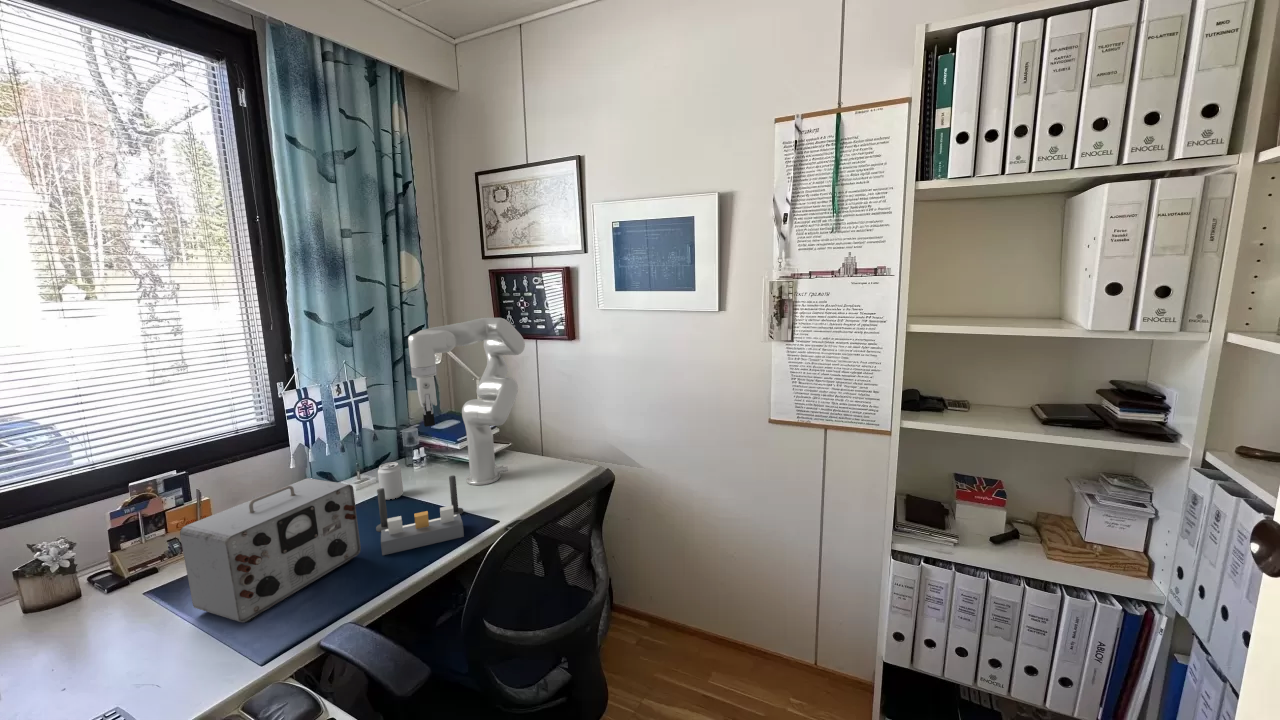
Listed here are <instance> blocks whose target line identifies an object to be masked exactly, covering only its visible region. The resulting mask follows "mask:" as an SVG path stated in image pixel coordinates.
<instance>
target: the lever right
mask: <svg viewBox="0 0 1280 720" xmlns="http://www.w3.org/2000/svg"><path fill="white" fill-rule="evenodd" d="M439 513H440V515H439V516H440V518H441V523H446V522H451V521H454V510H453V505H452V504H451V505H448V506H443V507H439Z"/></svg>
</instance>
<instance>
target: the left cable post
mask: <svg viewBox="0 0 1280 720" xmlns="http://www.w3.org/2000/svg"><path fill="white" fill-rule="evenodd" d="M376 493H377V494H376V495H377V501H378V502H377V503H378V509H379V518H380V524H377V525H376V527H375V531H376V532H378V533H381V530H385V529H388V523H387V519H388V510H387V509H388V508H387V502H386V500H385V491H384V488H381V489H380V488H378V489H377V490H376Z"/></svg>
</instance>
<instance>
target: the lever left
mask: <svg viewBox="0 0 1280 720" xmlns="http://www.w3.org/2000/svg"><path fill="white" fill-rule="evenodd" d="M387 523H388V529H389V535H391V534H395V533H400V532H403V520H402V515H400V516H399V515H398V516H393V517H389V518H388V519H387Z"/></svg>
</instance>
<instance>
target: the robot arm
mask: <svg viewBox="0 0 1280 720" xmlns="http://www.w3.org/2000/svg"><path fill="white" fill-rule="evenodd" d="M407 337H408V338H407V343H408V352H409V360H410V370H411V377H412V378H413V379H416V387H417V393H418V394H417V395H418V401H419V403H420V406H421V408H422V410H423V411H422V412H423V413H422V415H423V417H422V418H423V425H424V427H432V426H435V424H436V423H435V413H434V409H433V406H437V405H438V401H437V399H438V398H437V392H436V391H437V390H436V382H435V377H434V376H437V365H436V364H437V362H436V354H447V353H449V352H451V351H452V350H454V349H455V347H464V346H465V347H467V346H471V345H474V344H477V343H480V342H483V349H484V352H485V356H486V361H487V362H486V367H485V369H484V371H483V373H482V375H481V377H480V379H479V383H477V386H476V396H477V397H479V398H475V399H470V400H467V401H466V402H465V403H464V404H463V405H462V407H461V418H462V420H463V424H464V426H465V432H466V441H467V442H466V443H467V453H468V464H469V465H468V466H469V475H467V477H466V478H465V479H466V483H467V484H469V485H472V486H485V485H489V484H492V483H495V482H497V481H498V480H499V479H500V478H501V473H502V472H503V473H506V472H509V468H508V466H504V465H499V466H497V465H496V461H495V459H496V458H495V457H496V456H495V447H494V446H495V445H494V433H493V431H492V427H493V426H494V427H500V426H502V425H503V424H505V423H506V421H508V418H509V415H510V413H511V411H512V408H513V407H514V404H515V401H516V398H517V396H518V391H519V389H518V388H519V387H518V382H517V381H516V380H515V378H513V377H510V376H507V375H508V372H509V368H508V367H509V366H508V365H507V362H506V360H505V357H504V356H519V355H521V354H522V353H523V352H524V350H525V345H526V343H525V340H524V337H523V336H522V335H521V333H520V332H519V331H518V330H517V329H516V328H515V326H513V325H512V323H511V322H510V321H508V320H507V319H505V318H502V317H480V318H476V319H472V320H468V321H464V322H463V321H462V322H459V323H451V324H447V325H439V326H434V327H430V328H424V329H421V330H419V331H417V332H416V333H413V334H410V335H409V336H407ZM490 426H491V427H490Z"/></svg>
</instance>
